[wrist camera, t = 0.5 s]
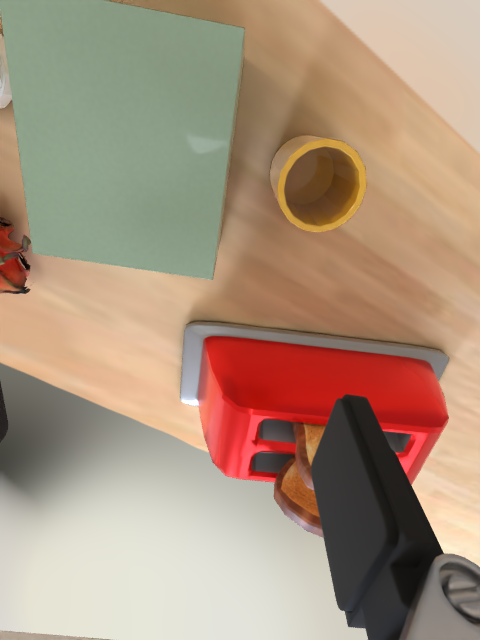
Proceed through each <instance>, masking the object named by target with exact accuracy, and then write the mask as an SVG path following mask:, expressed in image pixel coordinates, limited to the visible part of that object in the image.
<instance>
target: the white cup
mask: <svg viewBox="0 0 480 640" xmlns="http://www.w3.org/2000/svg"><path fill="white" fill-rule="evenodd" d="M11 100H12V95H11V87H10V80H9V73H8V65H7V58H6V50H5V43H4V37H3V36H2V34H1V33H0V109H1V108H5V107H6V106H7V105H8V104H9V103H10V101H11Z"/></svg>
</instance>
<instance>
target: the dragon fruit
mask: <svg viewBox="0 0 480 640" xmlns="http://www.w3.org/2000/svg"><path fill="white" fill-rule="evenodd" d="M0 223H2V224H4V225H5V226H7V227H1V226H0V293H8V294H9V293H13V294H20V293H23V294H26V293H28V292H29V291H30V289H26V288H27V287H24V286H25V282H26V280H27V278H26V277H27V276H28V275H29V272H30V265H29V264H27V260H26V259H25V256H23V255H22V254H21V253H20V252H23V251H24V250H25V251H27V250H28V245H29V244H30V243H31V241H30V240H29V239H28V237H27V236H25V235H24V236H23V240H22V245H21V244H18V243H15V242H13V241H11V240H10V239H8V235H9V233H10V232H12V231H13V230H14V228H13V225H12V223H11V222H10V221H7V220H5V219H4V218H1V217H0ZM18 253H20V254H21V256H22V257H23V259H22V258H21V257H20V255H19V254H18ZM18 256H19V258H20V260H21V262H22V264H23V265H24V266H25V268H26V270H25V269H24V268H23V267H22V265H21V264H20V262H19V261H18V259H17V257H18ZM25 289H26V290H25Z"/></svg>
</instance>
